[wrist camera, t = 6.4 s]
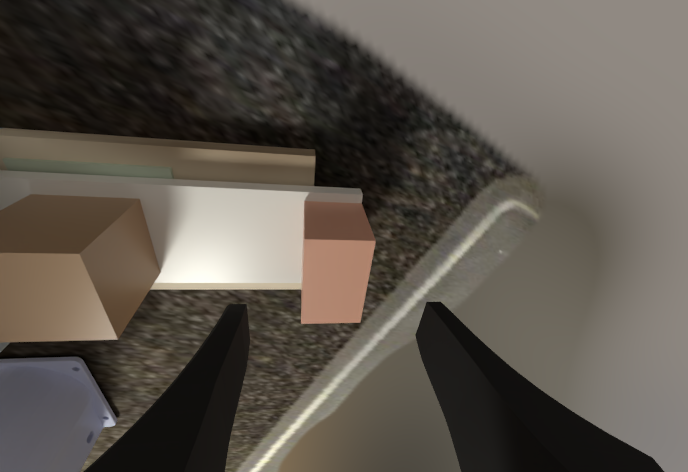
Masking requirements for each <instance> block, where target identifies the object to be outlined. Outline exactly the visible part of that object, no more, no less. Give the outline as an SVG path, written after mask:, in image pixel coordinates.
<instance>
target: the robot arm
mask: <svg viewBox="0 0 688 472" xmlns="http://www.w3.org/2000/svg"><path fill="white" fill-rule="evenodd" d="M416 339H417V343H418V347H419V351H420V354H421V358H422V361H423V363H424V366H425V369H426V371H427V374H428V376H429V379H430V381H431V384H432V386H433V389H434V391H435V394H436V396H437V399H438V401H439V404H440V406H441V408H442V411H443V413H444V416H445V419H446V422H447V425H448V427H449V431H450V434H451V437H452V441H453V444H454V447H455V451H456V454H457V458H458V461H459V465H460V469H461V472H664V471H663V470H662V468H661V467H660V466H659V465H658V464H657V463H656V462H655V460H654V459H653V458H652V457H650V456H648V455H646V454H644V453H642V452H641V451H639V450H637V449H635V448H634V447H632V446H630V445H628V444H626V443H624V442H623V441H621V440H619V439H617V438H615V437H614V436H612V435H610V434H608V433H607V432H605V431H603V430H602V429H600V428H598V427H596V426H595V425H593V424H592V423H590V422H588V421H587V420H585V419H583V418H582V417H580V416H579V415H577V414H575V413H574V412H572V411H571V410H569V409H568V408H566V407H565V406H563V405H562V404H560V403H559V402H557V401H556V400H554V399H553V398H551V397H550V396H548V395H547V394H546V393H544V392H543V391H541V390H540V389H539V388H537V387H536V386H535V385H533V384H532V383H531V382H529V381H528V380H527V379H526V378H524V377H523V376H522V375H520V374H519V373H518V372H517V371H515V370H514V369H513V368H511V367H510V366H509V365H508V364H506V362H504V361H503V360H502V359H501V358H500V357H499V356H497V355H496V354H495V353H494V352H493V351H492V350H491V349H490V348H488V347H487V346H486V345H485V344H484V343H483V342H482V341H481V340H480V339H479V338H478V337H476V336H475V335H474V334H473V333H472V332H471V331H470V330H469V329H468V328H467V327H466V326H465V325H464V324H463V323H462V322H461V321H460V320H459V319H458V318H457V317H456V316H455V315H454V314H453V313H452V312H451V311H450V310H449V309H448V308H447V307H446V306H445V305H444V304H442V303H441V302H427V303H426V306H425V309H424V312H423V315H422V318H421V321H420V324H419V327H418V330H417V333H416ZM249 345H250V335H249V325H248V314H247V304H230V305H228V306H227V307H226V309H225V311H224V313H223V314H222V316H221V317H220V319H219V321H218V322H217V324H216V325H215V327H214V328H213V330H212V331H211V333H210V334H209V336H208V337H207V339H206V340H205V341H204V343H203V344H202V346H201V347H200V348H199V350H198V351H197V353H196V354H195V355H194V357H193V358H192V359H191V360H190V362H189V363H188V364H187V365H186V367H185V368H184V369H183V370H182V372H181V373H180V374H179V375H178V377H177V378H176V379H175V380H174V381H173V383H172V384H171V385H170V386H169V387H168V388H167V390H166V391H165V392H164V393H163V394H162V395H161V396H160V397H159V399H158V400H157V401H156V402H155V403H154V404H153V405H152V406H151V407H150V408H149V409H148V410H147V411H146V412H145V414H144V415H143V416H142V417H141V418H140V419H139V420H138V421H137V422H136V423H135V424H134V425H133V426H132V427H131V428H130V429H129V430H128V431H127V432H126V433H125V434H124V435H123V436H122V437H121V438H120V439H119V440H118V441H117V442H116V443H114V444H113V445H112V446H111V447H110V448H109V449H108V450H107V451H106V452H105V453H104V454H102V455H101V456H100V457H99V458H98V459H97V460H96V461H95V462H94V463H93V464H92V465H90V466H89V467H88V468H87V469H86V470H85V471H84V472H225V466H226V459H227V452H228V446H229V441H230V436H231V431H232V426H233V422H234V418H235V414H236V410H237V405H238V401H239V397H240V393H241V389H242V385H243V380H244V376H245V372H246V367H247V360H248V353H249ZM116 423H117V418H116V416H115V415H114V413H113V411H112V409H111V408H110V406H109V404H108V402H107V401H106V399H105V397H104V395H103V394H102V392H101V390H100V389H99V387H98V385H97V383H96V382H95V380H94V378H93V376H92V375H91V373H90V371H89V369H88V368H87V366H86V364H85V362H84V361H83V359H81V358H79V357H48V358H16V359H0V472H80V471H81V469H82V467H83V465H84V463H85V461H86V459H87V457H88V455H89V453H90V452H91V450H92V448H93V446H94V444H95V442H96V440H97V438H98V436H99V435H100V433H101V431H102V429H103V427H111V426H114V425H115V424H116Z"/></svg>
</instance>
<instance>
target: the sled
mask: <svg viewBox="0 0 688 472" xmlns="http://www.w3.org/2000/svg"><path fill="white" fill-rule="evenodd" d="M362 198H363V193H362V191H361V189H359V188H339V187H320V186H300V185H280V184H261V183H241V182H222V181H202V180H183V179H163V178H144V177H124V176H105V175H85V174H66V173H46V172H27V171H7V170H0V343H2V342H42V341H83V340H118V339H119V337H120V336H121V334H122V332H123V331H124V329H125V328H126V326H127V325H128V323H129V321H130V320H131V318H132V317H133V315H134V314H135V312H136V310H137V309H138V307H139V306H140V304H141V303H142V301H143V299H144V298H145V296H146V295H147V293H148V292H149V290H150V289H151V287H152V285H153V284H154V283H301V324H313V323H360V321H361V316H362V311H363V305H364V300H365V295H366V290H367V284H368V279H369V274H370V269H371V263H372V258H373V253H374V248H375V242H376V240H375V238H374V235H373V232H372V230H371V227H370V224H369V222H368V219H367V216H366V214H365V211H364V208H363V206H362Z"/></svg>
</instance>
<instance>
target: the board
mask: <svg viewBox="0 0 688 472" xmlns="http://www.w3.org/2000/svg"><path fill="white" fill-rule="evenodd" d="M315 158H316V156H315V150H313V149H299V148H285V147H270V146H256V145H242V144H228V143H213V142H199V141H185V140H170V139H156V138H142V137H128V136H113V135H99V134H85V133H70V132H56V131H42V130H28V129H13V128H2V129H0V170H7V171H27V172H46V173H66V174H85V175H105V176H124V177H144V178H163V179H183V180H202V181H222V182H241V183H261V184H280V185H300V186H314V176H315ZM151 289H301V283H154V284H153V285H152V287H151Z"/></svg>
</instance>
